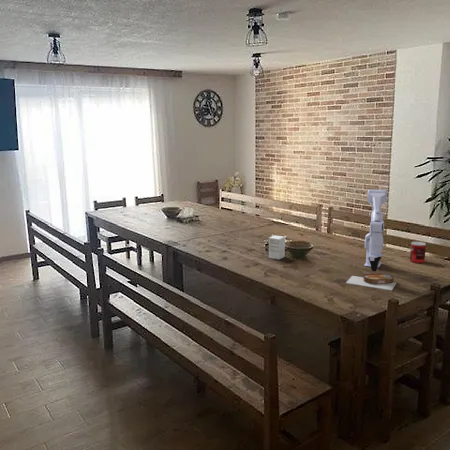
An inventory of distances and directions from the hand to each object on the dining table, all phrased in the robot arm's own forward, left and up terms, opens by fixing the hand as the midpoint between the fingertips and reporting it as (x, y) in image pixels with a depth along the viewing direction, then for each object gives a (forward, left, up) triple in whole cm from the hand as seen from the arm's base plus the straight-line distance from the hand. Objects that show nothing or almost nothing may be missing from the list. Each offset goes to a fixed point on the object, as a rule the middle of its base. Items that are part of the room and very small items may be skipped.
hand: (374, 270), depth 229 cm
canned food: (-45, +15, -5) cm, 47 cm away
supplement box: (-15, -60, -5) cm, 62 cm away
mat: (+5, 0, -5) cm, 7 cm away
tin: (-2, 0, -3) cm, 4 cm away
